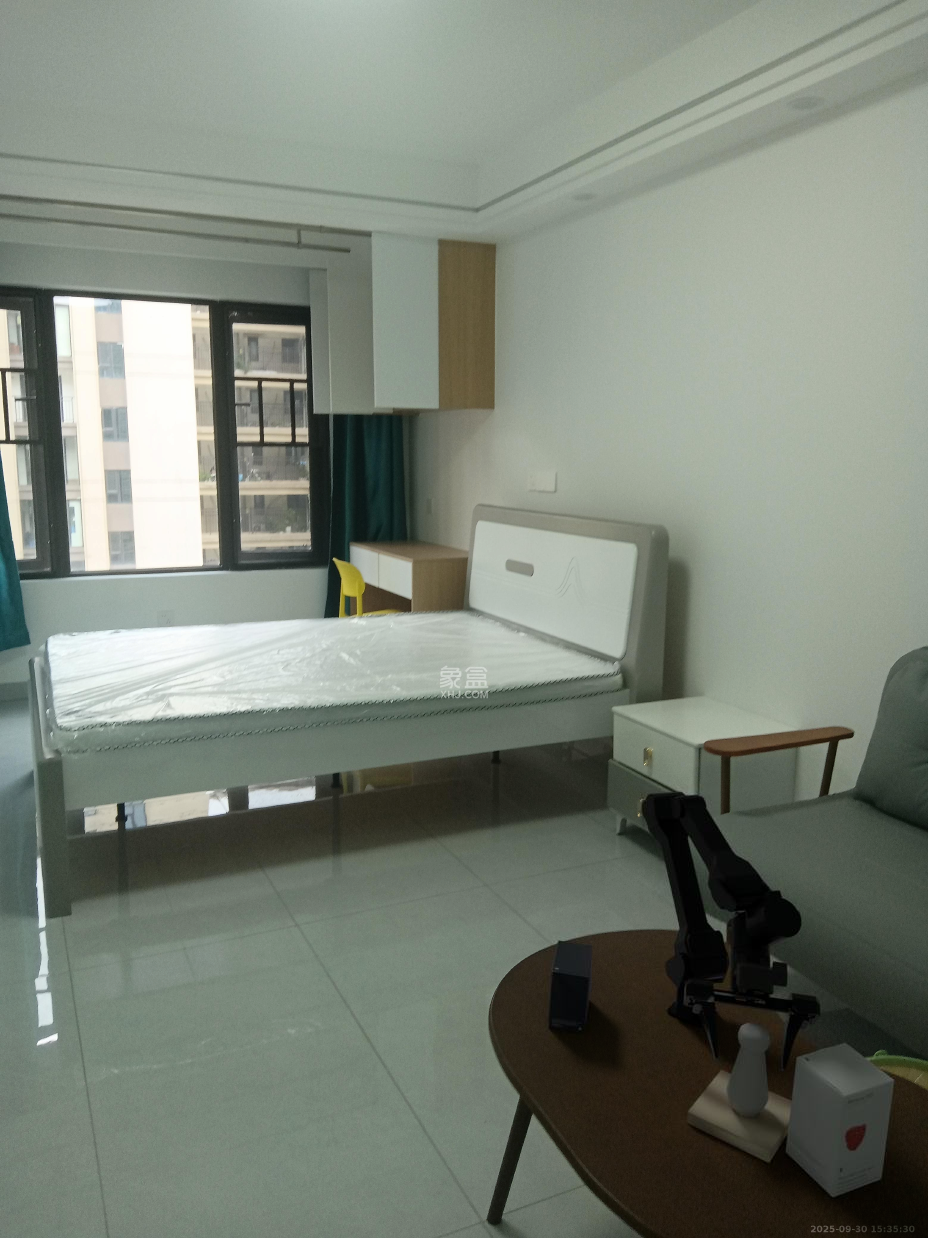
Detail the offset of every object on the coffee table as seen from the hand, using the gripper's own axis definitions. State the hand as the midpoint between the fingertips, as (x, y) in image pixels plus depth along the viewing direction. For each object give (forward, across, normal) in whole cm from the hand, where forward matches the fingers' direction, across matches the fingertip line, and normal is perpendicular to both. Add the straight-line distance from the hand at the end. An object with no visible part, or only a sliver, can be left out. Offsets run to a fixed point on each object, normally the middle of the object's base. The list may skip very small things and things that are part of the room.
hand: (749, 1064), depth 133 cm
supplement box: (+11, +11, +4) cm, 16 cm away
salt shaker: (+5, 0, +7) cm, 8 cm away
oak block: (+6, 0, +8) cm, 11 cm away
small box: (-8, -27, +22) cm, 36 cm away
